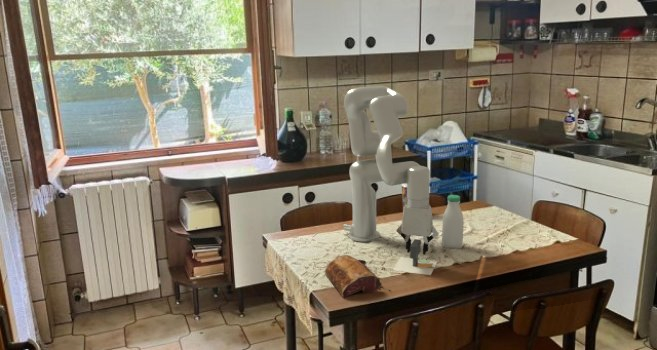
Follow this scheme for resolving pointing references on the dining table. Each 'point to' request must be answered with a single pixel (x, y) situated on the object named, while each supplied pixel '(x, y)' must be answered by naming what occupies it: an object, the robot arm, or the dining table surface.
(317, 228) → the dining table surface
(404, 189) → the smoothie
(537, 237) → the dining table surface
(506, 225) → the dining table surface
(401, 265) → the board
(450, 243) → the milk bottle
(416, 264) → the dark grey blocky piece
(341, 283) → the cured meat
